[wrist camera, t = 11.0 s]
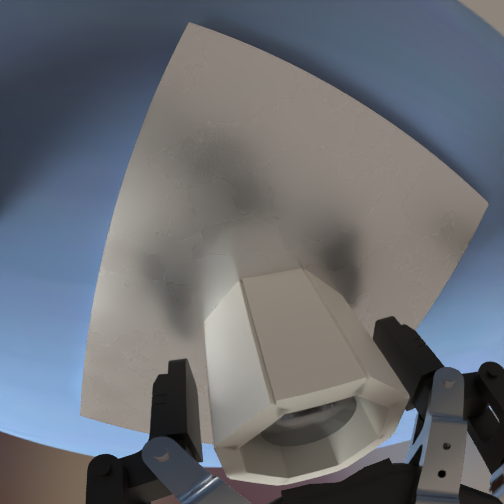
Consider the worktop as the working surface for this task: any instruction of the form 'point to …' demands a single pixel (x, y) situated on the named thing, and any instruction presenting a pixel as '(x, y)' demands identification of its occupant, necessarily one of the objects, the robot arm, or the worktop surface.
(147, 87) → the worktop surface
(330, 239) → the duct plate
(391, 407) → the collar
